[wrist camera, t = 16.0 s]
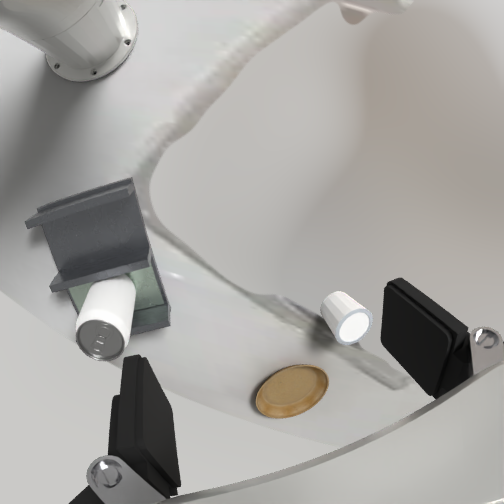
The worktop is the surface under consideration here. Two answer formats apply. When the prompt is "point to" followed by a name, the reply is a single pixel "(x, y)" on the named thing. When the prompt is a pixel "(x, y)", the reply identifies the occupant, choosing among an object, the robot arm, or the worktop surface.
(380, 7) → the worktop surface
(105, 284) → the can
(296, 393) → the plant saucer
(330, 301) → the white cup
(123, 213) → the grey ribbed shelf
